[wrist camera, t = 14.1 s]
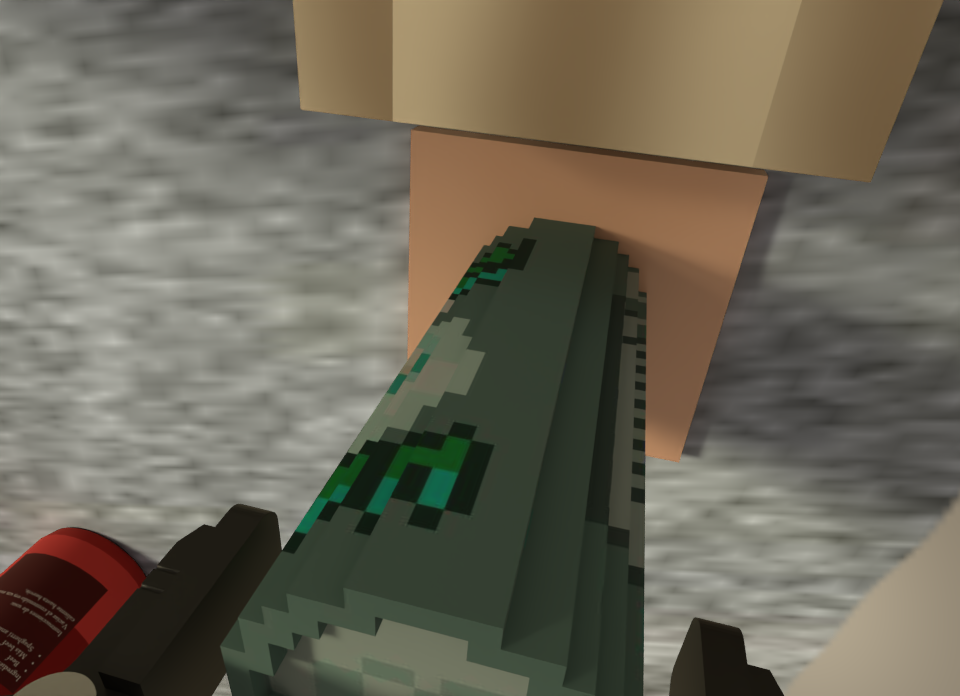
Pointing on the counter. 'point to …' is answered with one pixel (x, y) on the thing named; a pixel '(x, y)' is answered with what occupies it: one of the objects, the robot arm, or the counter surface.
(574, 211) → the plate
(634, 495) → the can
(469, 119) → the bore block
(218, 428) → the counter surface
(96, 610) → the canned food
